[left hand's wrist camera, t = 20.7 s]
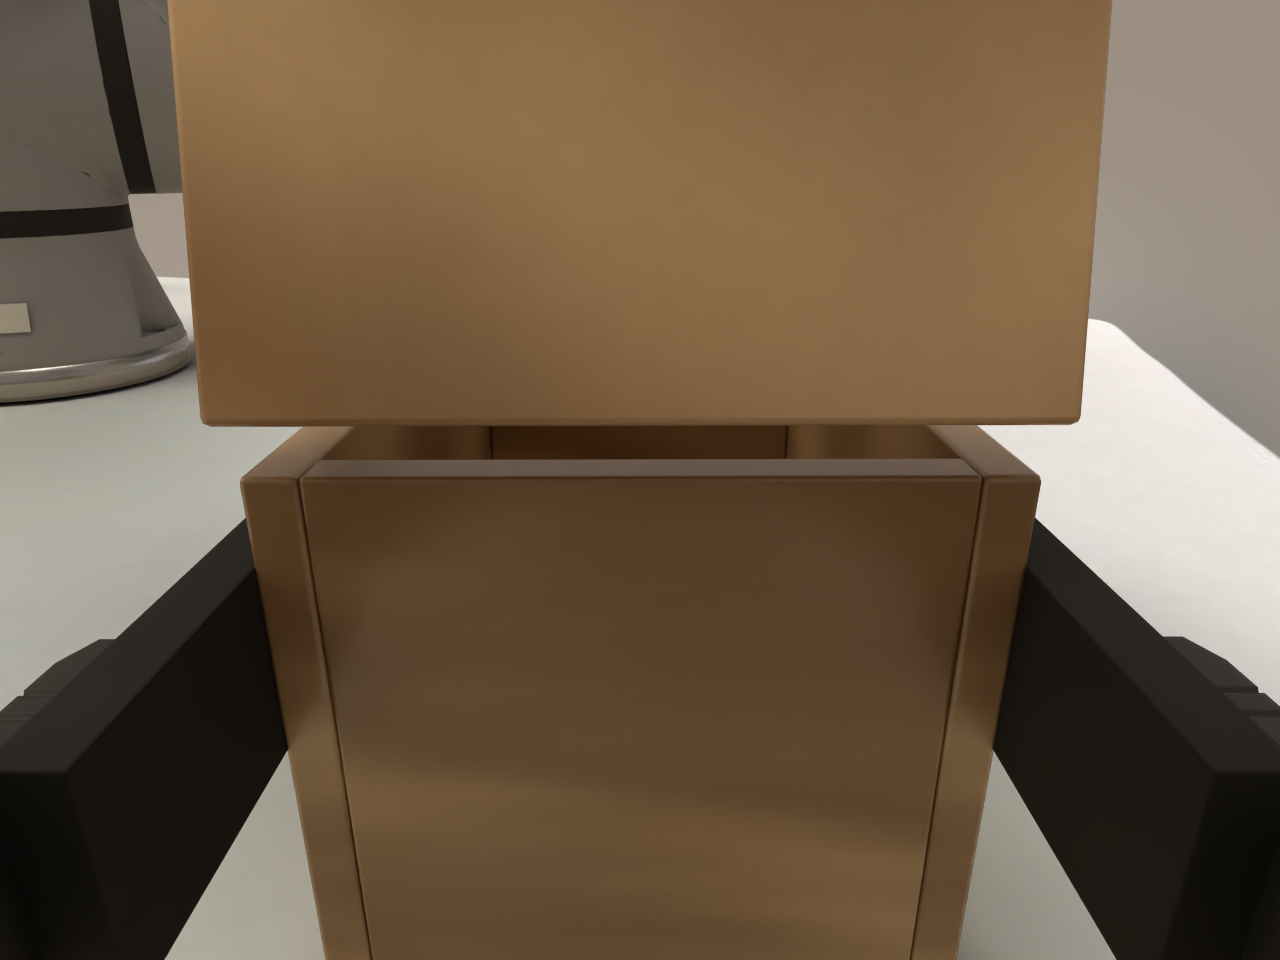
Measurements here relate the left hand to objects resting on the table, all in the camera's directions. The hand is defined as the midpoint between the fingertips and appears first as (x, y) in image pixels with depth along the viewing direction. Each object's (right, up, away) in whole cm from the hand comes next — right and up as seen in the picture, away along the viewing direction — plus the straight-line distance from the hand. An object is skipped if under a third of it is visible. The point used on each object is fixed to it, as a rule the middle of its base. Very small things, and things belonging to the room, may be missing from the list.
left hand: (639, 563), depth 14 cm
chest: (0, -5, +6) cm, 8 cm away
